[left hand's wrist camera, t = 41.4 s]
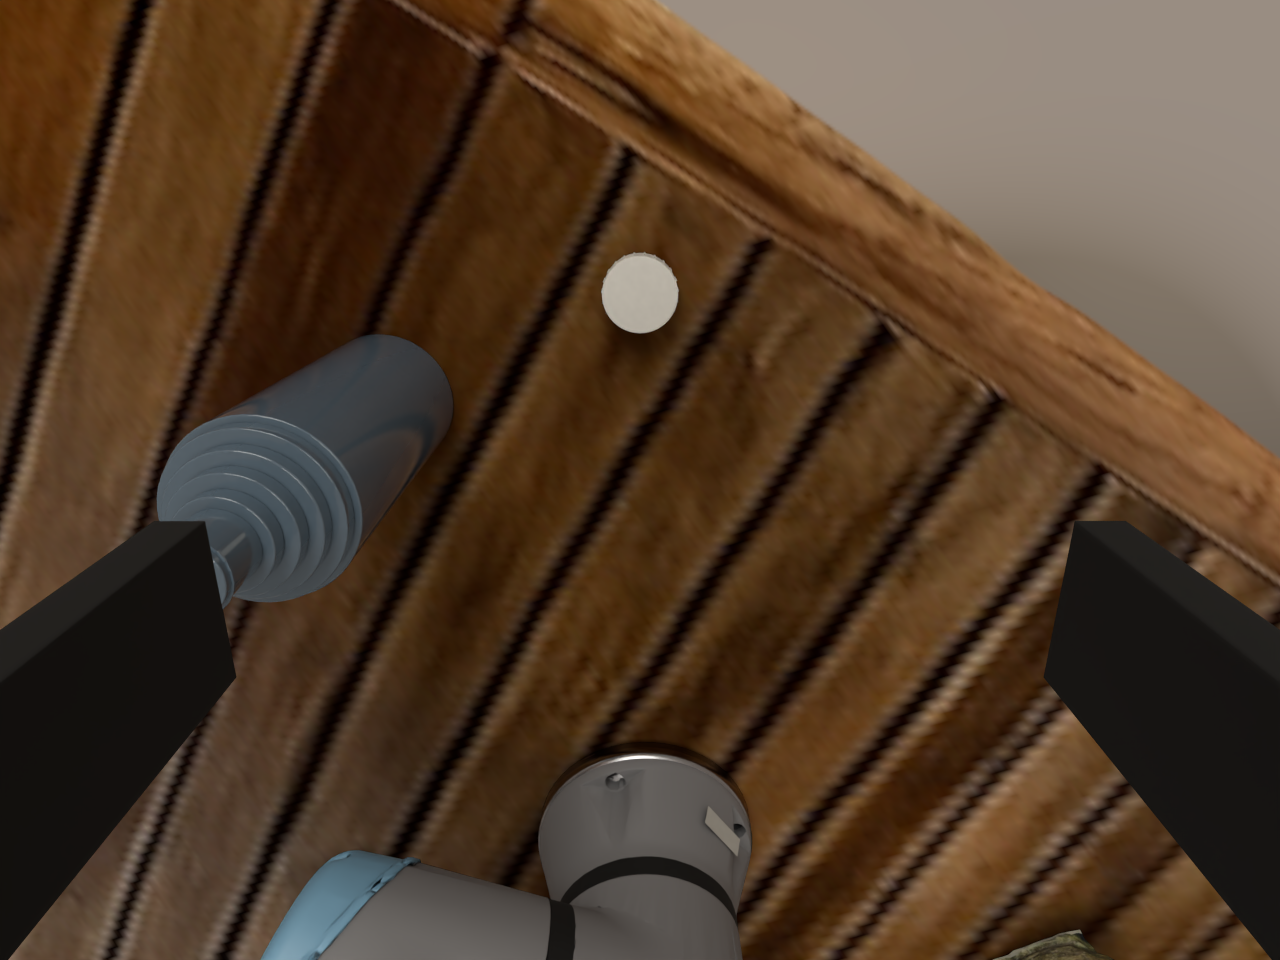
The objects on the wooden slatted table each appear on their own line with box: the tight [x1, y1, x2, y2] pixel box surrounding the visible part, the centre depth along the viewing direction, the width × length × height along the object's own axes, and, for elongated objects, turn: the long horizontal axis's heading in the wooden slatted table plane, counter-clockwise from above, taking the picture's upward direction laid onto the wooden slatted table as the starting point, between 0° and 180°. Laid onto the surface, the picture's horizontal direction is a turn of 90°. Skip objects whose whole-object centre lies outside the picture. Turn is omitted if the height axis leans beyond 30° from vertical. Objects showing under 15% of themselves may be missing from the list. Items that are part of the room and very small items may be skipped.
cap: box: [601, 252, 679, 333], centre depth 46 cm, size 4×4×2 cm
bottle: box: [157, 334, 453, 609], centre depth 38 cm, size 8×8×23 cm
